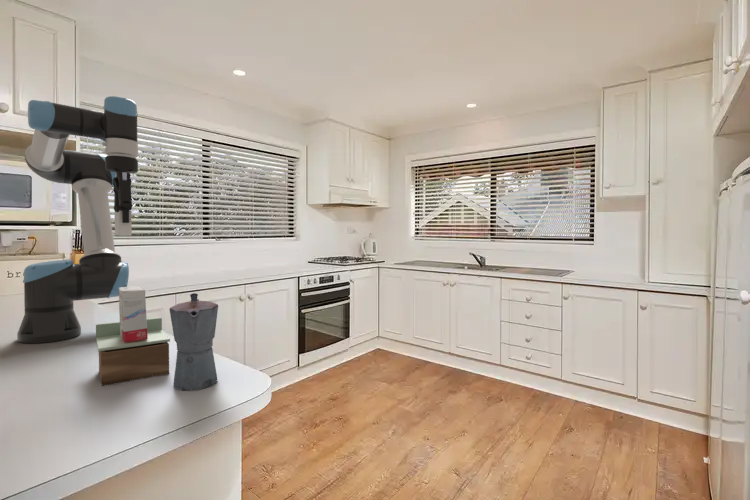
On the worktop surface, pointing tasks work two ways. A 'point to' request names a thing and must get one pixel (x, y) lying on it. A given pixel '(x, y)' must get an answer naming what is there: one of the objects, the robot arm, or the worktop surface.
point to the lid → (111, 340)
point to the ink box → (132, 314)
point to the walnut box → (133, 363)
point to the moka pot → (194, 343)
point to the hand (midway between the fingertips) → (122, 235)
